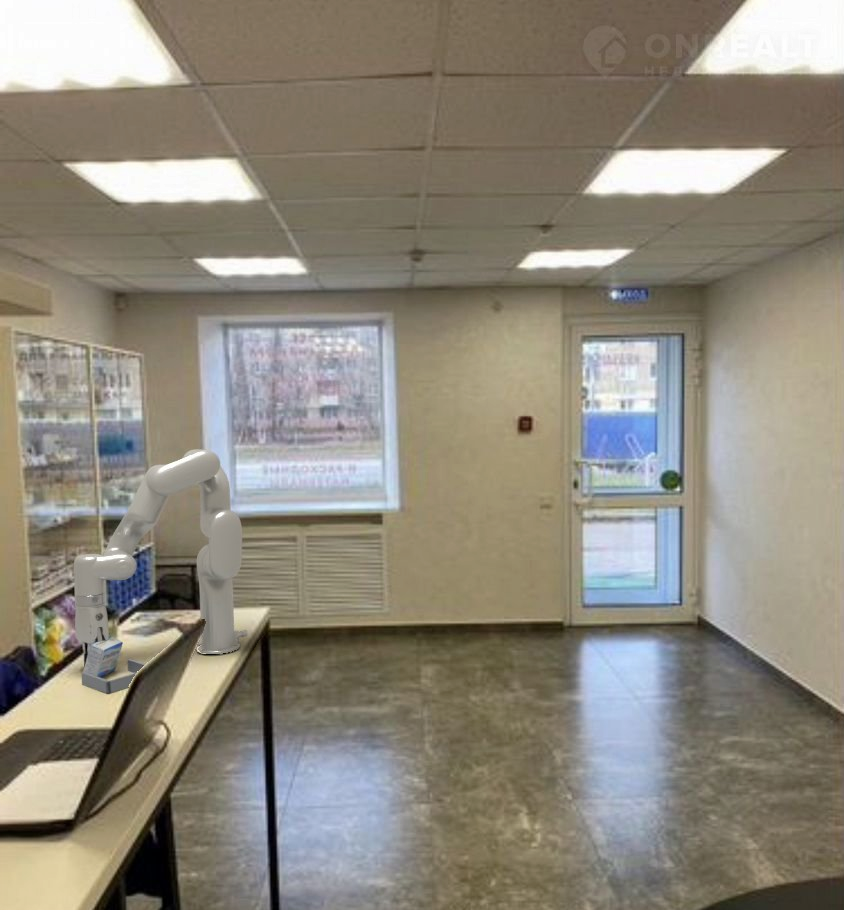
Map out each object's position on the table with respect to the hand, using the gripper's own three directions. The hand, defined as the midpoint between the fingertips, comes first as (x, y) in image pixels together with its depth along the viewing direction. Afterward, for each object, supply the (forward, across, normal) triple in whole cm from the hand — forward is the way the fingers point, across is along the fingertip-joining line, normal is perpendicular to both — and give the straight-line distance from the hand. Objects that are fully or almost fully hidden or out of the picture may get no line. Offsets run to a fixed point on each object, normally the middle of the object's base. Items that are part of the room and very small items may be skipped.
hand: (91, 667), depth 196 cm
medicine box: (+1, -3, 0) cm, 4 cm away
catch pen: (+2, -13, -1) cm, 13 cm away
